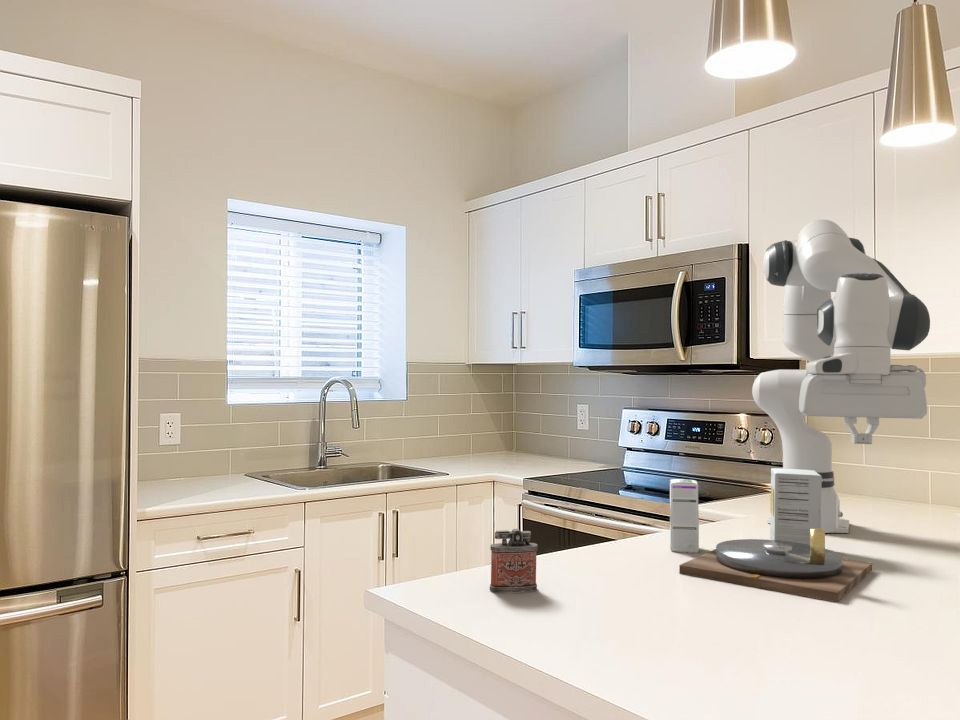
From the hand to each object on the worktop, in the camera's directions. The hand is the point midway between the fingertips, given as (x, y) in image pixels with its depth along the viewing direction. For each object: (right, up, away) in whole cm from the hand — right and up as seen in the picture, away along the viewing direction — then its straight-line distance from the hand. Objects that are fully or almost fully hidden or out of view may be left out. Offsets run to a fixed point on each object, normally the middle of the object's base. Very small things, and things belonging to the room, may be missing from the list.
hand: (861, 443), depth 131 cm
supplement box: (0, -26, +29) cm, 39 cm away
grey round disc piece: (-11, -23, +10) cm, 28 cm away
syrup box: (-24, -26, +28) cm, 44 cm away
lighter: (-61, -24, -5) cm, 66 cm away
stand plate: (-11, -25, +10) cm, 29 cm away
